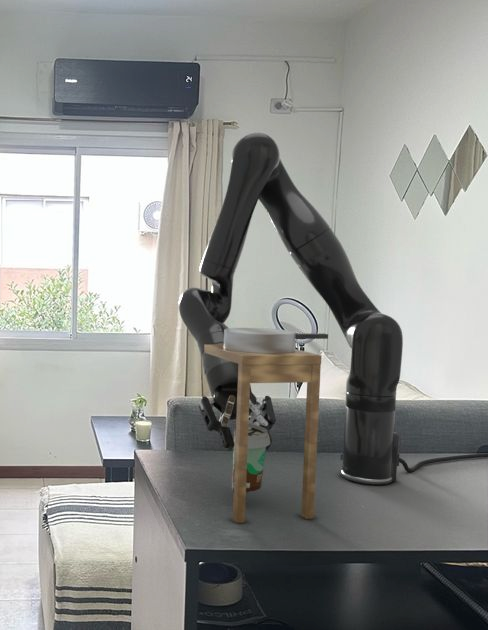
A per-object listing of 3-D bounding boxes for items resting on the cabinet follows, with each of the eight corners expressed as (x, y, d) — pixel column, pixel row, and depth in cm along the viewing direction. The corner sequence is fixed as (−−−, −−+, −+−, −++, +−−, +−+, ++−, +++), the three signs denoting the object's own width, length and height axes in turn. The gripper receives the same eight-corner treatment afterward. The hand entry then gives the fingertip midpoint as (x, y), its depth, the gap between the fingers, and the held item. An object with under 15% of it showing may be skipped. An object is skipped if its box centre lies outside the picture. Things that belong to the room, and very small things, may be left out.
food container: (270, 497, 125) (273, 439, 124) (232, 494, 126) (235, 436, 125) (265, 476, 137) (268, 423, 136) (231, 474, 138) (234, 420, 138)
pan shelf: (297, 488, 141) (304, 327, 139) (345, 517, 126) (353, 335, 123) (199, 492, 137) (204, 326, 135) (236, 523, 122) (243, 335, 119)
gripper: (195, 360, 139) (218, 438, 128) (266, 360, 142) (294, 436, 131) (184, 383, 144) (204, 460, 134) (252, 382, 147) (278, 457, 137)
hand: (249, 448), depth 133 cm, fingers closed on food container, 6 cm apart
